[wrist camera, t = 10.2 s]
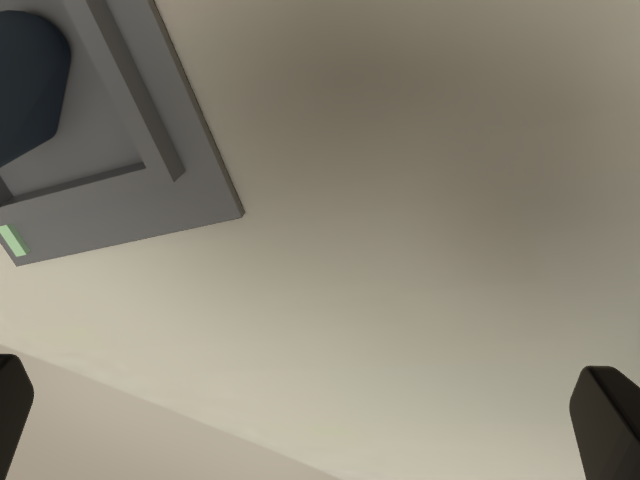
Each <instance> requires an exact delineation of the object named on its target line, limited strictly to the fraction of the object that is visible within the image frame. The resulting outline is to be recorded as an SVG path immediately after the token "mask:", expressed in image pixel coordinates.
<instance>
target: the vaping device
mask: <svg viewBox="0 0 640 480" xmlns="http://www.w3.org/2000/svg"><path fill="white" fill-rule="evenodd" d="M70 58H71V55H70V49H69V46H68V43H67V41H66V39H65V38H64V36H63V35H62V33H61V32H60V31H59V30H58V29H57V28H56V27H55V26H54V25H53V24H52V23H50V22H49V21H47V20H46V19H44V18H42V17H40V16H37V15H33V14H30V13H27V12H25V11H15V10H6V11H1V12H0V168H1V167H3V166H4V165H6V164H8V163H9V162H11V161H13V160H15V159H16V158H18V157H20V156H22V155H23V154H25V153H27V152H29V151H30V150H32V149H34V148H36V147H37V146H39V145H41V144H43V143H44V142H46V141H48V140H50V139H51V138H52V137H54V135H55V134H56V131H57V127H58V121H59V116H60V111H61V106H62V101H63V96H64V90H65V85H66V80H67V75H68V70H69V65H70Z"/></svg>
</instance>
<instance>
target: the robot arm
mask: <svg viewBox="0 0 640 480" xmlns="http://www.w3.org/2000/svg"><path fill="white" fill-rule="evenodd" d="M33 398H34V390H33V386H32V383H31V381H30V379H29V377H28V375H27V373H26V371H25V369H24V366H23V364H22V362H21V360H20V359H19V357H17V356H16V355H13V354H0V480H5V479H6V476H7V473H8V470H9V467H10V465H11V462H12V459H13V456H14V454H15V451H16V448H17V445H18V442H19V440H20V436H21V434H22V431H23V428H24V425H25V423H26V420H27V417H28V414H29V411H30V409H31V406H32V403H33ZM569 409H570V416H571V420H572V424H573V428H574V432H575V436H576V440H577V444H578V448H579V452H580V456H581V460H582V464H583V468H584V472H585V476H586V480H640V388H639V387H638V386H637V385H636V384H635V383H633V382H632V381H631V380H630V379H628V378H627V377H626V376H625V375H623V374H622V373H621V372H620V371H618V370H617V369H615V368H613V367H610V366H586V367H585V368H583V369H582V371H581V373H580V376H579V378H578V381H577V383H576V386H575V388H574V391H573V394H572V396H571V399H570V405H569Z"/></svg>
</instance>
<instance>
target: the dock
mask: <svg viewBox="0 0 640 480" xmlns="http://www.w3.org/2000/svg"><path fill="white" fill-rule="evenodd" d="M6 10H15V11H25V12H27V13H30V14H33V15H37V16H40V17H42V18H44V19H46V20H47V21H49V22H50V23H52V24H53V25H54V26H55V27H56V28H57V29H58V30H59V31H60V32H61V33H62V35H63V36H64V38H65V39H66V41H67V43H68V46H69V49H70V55H71V58H70V65H69V70H68V75H67V80H66V85H65V90H64V96H63V101H62V106H61V111H60V116H59V121H58V127H57V131H56V134H55V135H54V137H52V138H51V139H50V140H48V141H46V142H44V143H43V144H41V145H39V146H37V147H36V148H34V149H32V150H30V151H29V152H27V153H25V154H23V155H22V156H20V157H18V158H16V159H15V160H13V161H11V162H9V163H8V164H6V165H4V166H3V167H1V168H0V243H1V245H2V246H3V247H4V249H5V250H6V252H7V253H8V255H9V256H10V258H11V259H12V260H13V262H14V263H15V265H16V266H21V265H26V264H30V263H35V262H40V261H44V260H49V259H53V258H58V257H63V256H67V255H72V254H77V253H81V252H86V251H90V250H95V249H100V248H104V247H109V246H113V245H118V244H123V243H127V242H132V241H137V240H141V239H146V238H150V237H155V236H160V235H164V234H169V233H173V232H178V231H183V230H187V229H192V228H197V227H201V226H206V225H210V224H215V223H220V222H224V221H229V220H234V219H238V218H242V217H243V215H244V210H243V208H242V206H241V203H240V201H239V199H238V196H237V194H236V192H235V189H234V187H233V185H232V182H231V180H230V178H229V175H228V173H227V171H226V168H225V166H224V164H223V161H222V159H221V157H220V154H219V152H218V150H217V147H216V145H215V143H214V140H213V138H212V136H211V133H210V131H209V129H208V126H207V124H206V122H205V119H204V117H203V115H202V112H201V110H200V108H199V105H198V103H197V101H196V98H195V96H194V94H193V91H192V89H191V87H190V85H189V82H188V80H187V78H186V75H185V73H184V71H183V68H182V66H181V64H180V61H179V59H178V57H177V54H176V52H175V50H174V47H173V45H172V43H171V40H170V38H169V36H168V33H167V31H166V29H165V26H164V24H163V22H162V19H161V17H160V15H159V12H158V10H157V8H156V5H155V3H154V1H153V0H0V12H1V11H6Z"/></svg>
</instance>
